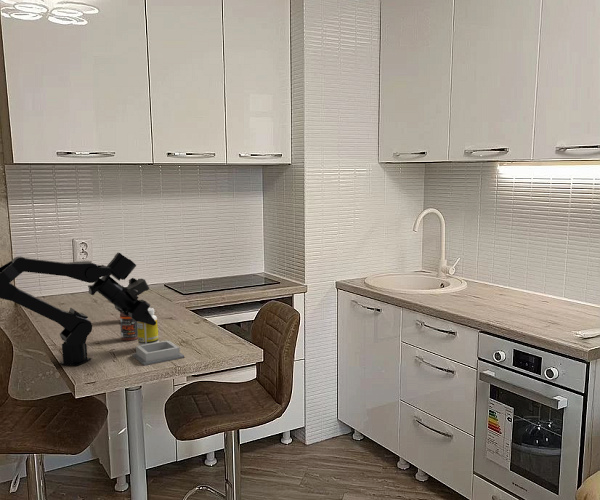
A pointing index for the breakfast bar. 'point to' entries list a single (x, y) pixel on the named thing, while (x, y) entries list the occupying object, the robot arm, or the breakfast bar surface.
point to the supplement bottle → (128, 328)
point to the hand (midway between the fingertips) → (151, 322)
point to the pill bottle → (148, 331)
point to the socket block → (157, 352)
